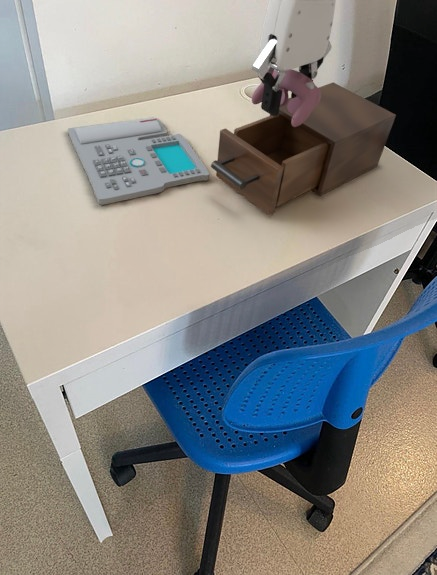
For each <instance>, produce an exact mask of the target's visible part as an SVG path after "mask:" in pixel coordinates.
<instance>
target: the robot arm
mask: <svg viewBox="0 0 437 575" xmlns="http://www.w3.org/2000/svg"><path fill="white" fill-rule="evenodd" d="M335 9H336V0H269V1H268V3H267V8H266V11H265V15H264V20H263V25H262V28H261V35H260V41H259V45H258V46H259V47H258V53H257V54H258V57H257V59H256V60H255V62H254V63H253V64H252V71H253V72H254V73H255V74H256V76H257V77H258V79H259V80H260V81H261V82H260V83H262V84H263V85H264V90H263V97H262V102H261V103H260V109H261V110H263V111H264V112H265V113H267V114H269V115H270V114H271V115H272V116H274V117H275V116H277V115H278V113H279V108H280V103H281V97H282V90H280V87H281V84H282V82H283V80H284V77H285V75H286V72H287V70H290V69H292V70H294V69H297V68H298V72H300V73H302V74H304V75H306V76H307V77H309V78H310V79H311V80H312V81H313V82H314V80H315V79H316V77H317V76H318V70H319V69H320V67H321V66H322V64H323V63H324V60H325V58H326V57H327V55H328V54H329V53H330V51H331V50H332V48H333V47H332V44H331V42H330V38H331V33H332V26H333V22H334V16H335ZM274 70H277V71H278V73H277V76H276V78H274V77H273V76H272V74H273V72H274ZM290 93H291V94H290V98H292V99H293V98H295V97H296V96H297V95H295V94H294V93H292V92H290Z"/></svg>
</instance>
